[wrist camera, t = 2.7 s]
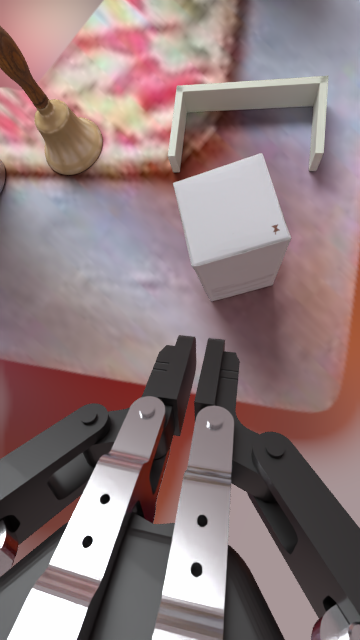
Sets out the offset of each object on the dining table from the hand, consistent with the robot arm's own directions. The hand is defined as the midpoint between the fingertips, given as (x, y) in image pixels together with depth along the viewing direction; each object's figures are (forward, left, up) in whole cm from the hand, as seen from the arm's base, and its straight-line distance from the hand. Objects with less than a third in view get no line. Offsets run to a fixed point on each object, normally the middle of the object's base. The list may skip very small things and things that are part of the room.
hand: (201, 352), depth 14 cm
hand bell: (-12, +32, -20) cm, 40 cm away
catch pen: (+9, +25, -20) cm, 33 cm away
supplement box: (+4, +10, -20) cm, 23 cm away
